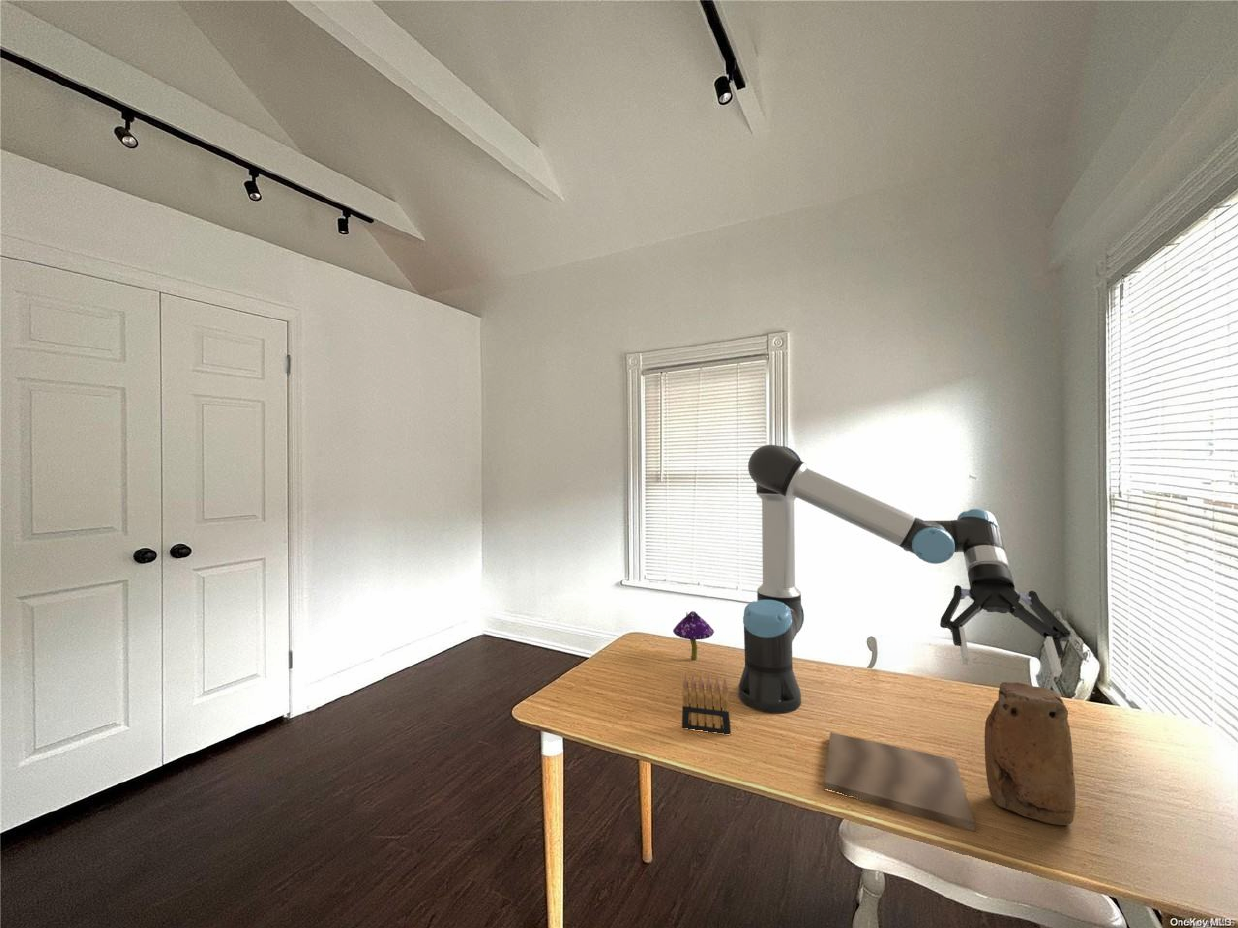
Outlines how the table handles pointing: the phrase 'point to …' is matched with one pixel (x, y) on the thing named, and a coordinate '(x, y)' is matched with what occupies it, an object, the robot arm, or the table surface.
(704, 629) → the decorative mushroom
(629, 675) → the table surface
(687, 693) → the ammunition clip
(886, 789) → the walnut board
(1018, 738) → the block
